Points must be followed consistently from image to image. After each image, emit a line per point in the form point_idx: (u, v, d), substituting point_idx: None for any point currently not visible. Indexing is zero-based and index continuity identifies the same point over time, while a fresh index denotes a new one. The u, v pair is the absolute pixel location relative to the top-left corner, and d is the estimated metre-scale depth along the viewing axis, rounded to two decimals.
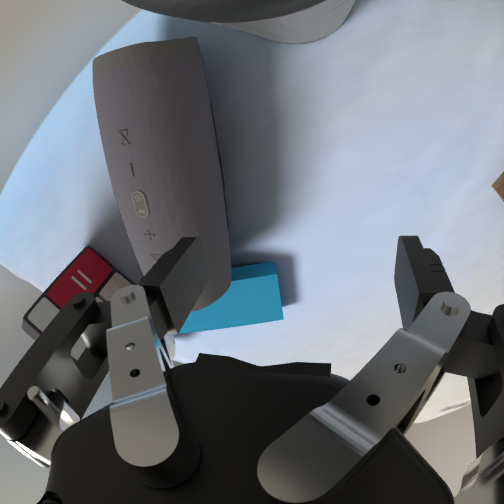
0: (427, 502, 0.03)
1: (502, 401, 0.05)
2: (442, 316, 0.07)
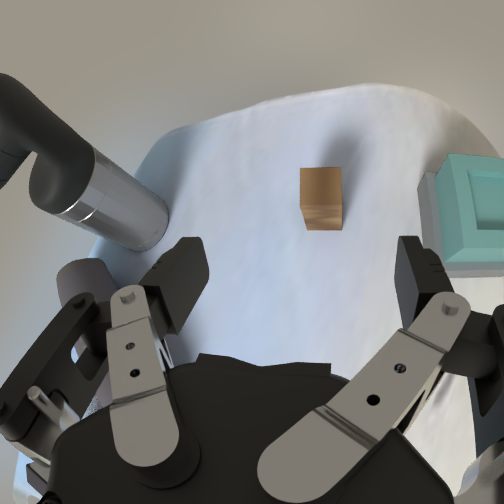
0: (427, 502, 0.03)
1: (502, 401, 0.05)
2: (442, 316, 0.07)
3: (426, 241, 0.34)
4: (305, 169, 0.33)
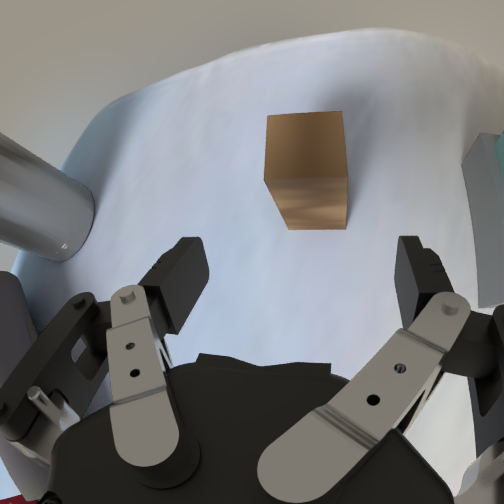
0: (427, 502, 0.03)
1: (502, 401, 0.05)
2: (442, 316, 0.07)
3: (484, 247, 0.18)
4: (276, 117, 0.17)
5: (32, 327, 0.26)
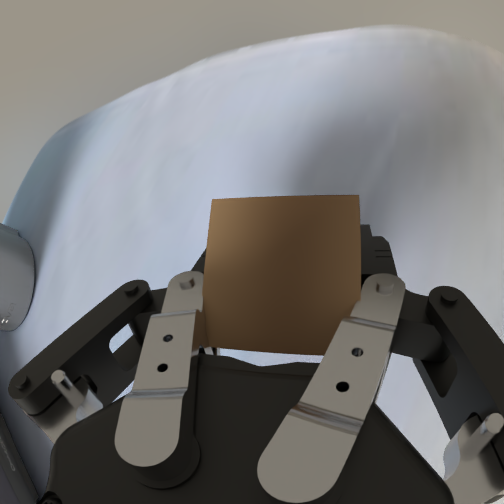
0: (422, 496, 0.03)
1: (461, 380, 0.06)
2: (373, 294, 0.08)
3: None
4: (229, 204, 0.09)
5: None
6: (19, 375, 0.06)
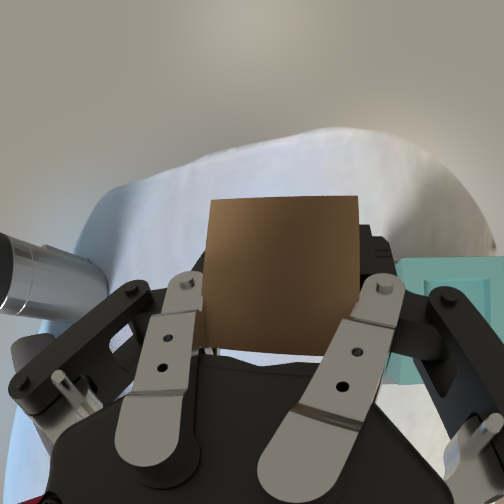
0: (422, 496, 0.03)
1: (461, 380, 0.06)
2: (373, 294, 0.08)
3: None
4: (228, 204, 0.09)
5: None
6: (19, 375, 0.06)
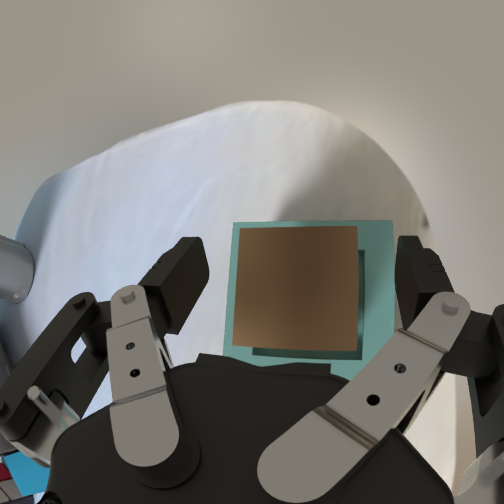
0: (427, 502, 0.03)
1: (502, 401, 0.05)
2: (442, 316, 0.07)
3: None
4: (254, 232, 0.12)
5: (0, 347, 0.35)
6: None
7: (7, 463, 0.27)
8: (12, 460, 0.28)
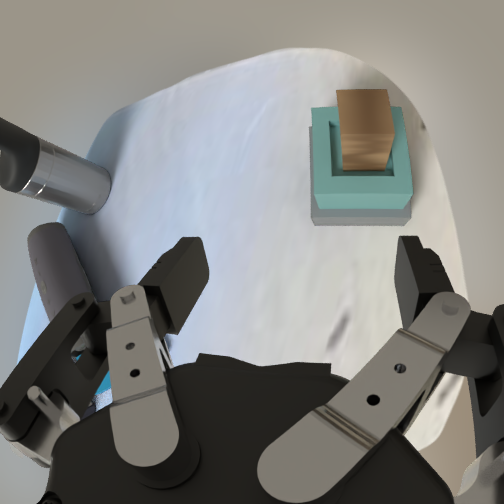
0: (427, 502, 0.03)
1: (502, 401, 0.05)
2: (442, 316, 0.07)
3: None
4: (343, 91, 0.23)
5: (75, 253, 0.49)
6: None
7: None
8: None
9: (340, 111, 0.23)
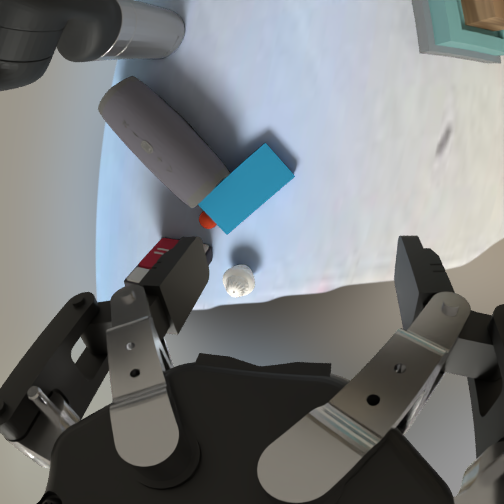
0: (427, 502, 0.03)
1: (502, 401, 0.05)
2: (442, 316, 0.07)
3: (419, 25, 0.31)
4: None
5: (163, 100, 0.44)
6: None
7: (204, 207, 0.50)
8: (211, 200, 0.49)
9: None
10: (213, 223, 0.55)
